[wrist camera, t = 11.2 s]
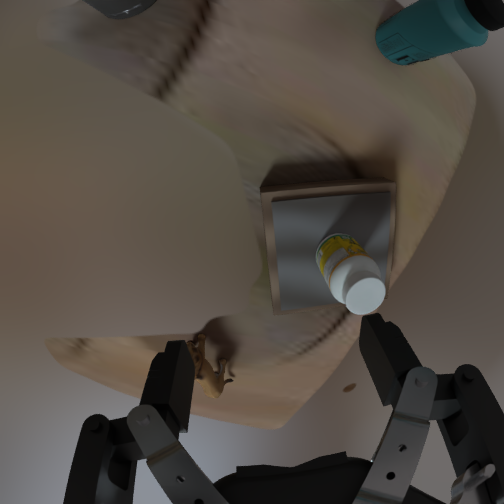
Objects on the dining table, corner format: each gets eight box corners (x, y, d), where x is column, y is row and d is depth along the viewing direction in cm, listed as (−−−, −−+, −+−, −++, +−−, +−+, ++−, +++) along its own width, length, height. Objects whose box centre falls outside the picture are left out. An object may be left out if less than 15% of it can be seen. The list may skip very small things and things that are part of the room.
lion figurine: (164, 331, 42) (149, 372, 34) (188, 316, 41) (177, 359, 33) (221, 383, 47) (218, 423, 39) (246, 372, 46) (246, 414, 38)
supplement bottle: (305, 253, 33) (326, 298, 24) (340, 222, 31) (373, 257, 23) (333, 281, 34) (358, 329, 26) (365, 253, 33) (401, 294, 24)
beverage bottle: (378, 70, 27) (489, 38, 9) (361, 24, 25) (452, -39, 7) (417, 67, 27) (530, 48, 8) (402, 24, 24) (501, -20, 6)
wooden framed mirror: (259, 187, 34) (261, 194, 30) (383, 177, 33) (398, 183, 29) (271, 300, 40) (274, 317, 36) (378, 285, 40) (388, 300, 36)
